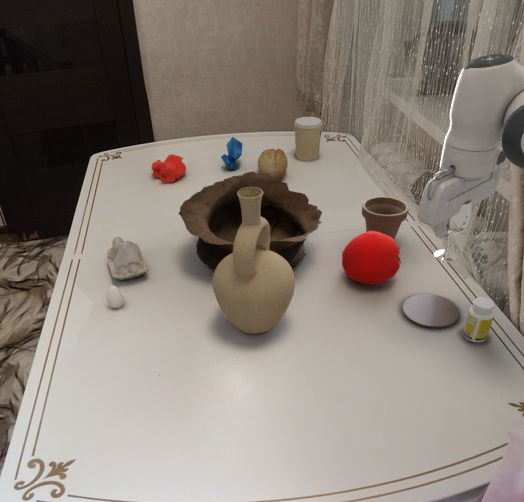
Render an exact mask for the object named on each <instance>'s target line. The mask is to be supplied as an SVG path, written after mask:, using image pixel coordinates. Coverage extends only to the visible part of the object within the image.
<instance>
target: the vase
mask: <svg viewBox="0 0 524 502" xmlns="http://www.w3.org/2000/svg"><path fill="white" fill-rule="evenodd" d="M237 195H238V197H239V200H240V205H241V211H242V224H241V225H240V227H239V229H238V231H237V234H236V237H235V241H234V246H233V253H231V254H229V255H228V256H227V257H225V258H224V259H223V260H222V261H221V262H220V263H219V265H218V266H217V268H216V270H214V273H213V277H212V289H213V294H214V296H215V297H214V298H215V300H216V302H217V304H218V306H219V308H220V310H221V311H222V313H223V314H224V316H225V318H226V319H227V320H228V321H229V322H230V324H231V325H232V326H233V327H235V328H236V329H237V330H239V331H241V332H243V333H245V334H250V335H252V334H253V335H259V334H263V333H266V332H268V331H270V330H272V329H274V327H276V326H277V324H278V323H279V322H280V321H281V320H282V318H283V317H284V315H285V314H286V312H287V310H288V308H289V307H290V304H291V301H292V299H293V296H294V293H295V289H296V278H295V277H296V276H295V274H294V270H293V268H292V267H291V266H290V265H289V263H288V262H287V261H286V260H285V259H284V258H283V257H282V256H280V255H279V254H277V253H275V252H272V251H270V250H269V246H270V226H269V223H268V222H267V220H266V219H265V218H263V217H261V216H260V210H261V199H262V196H263V191H262V190H261V189H260V188H257V187H245V188H242V189H240V190H239V191H238V192H237Z"/></svg>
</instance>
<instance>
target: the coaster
mask: <svg viewBox="0 0 524 502" xmlns="http://www.w3.org/2000/svg"><path fill="white" fill-rule="evenodd" d="M401 310H402V314H403V315H404V317H405V318H406V319H407V321H410V322H411V323H412V324H415V325H417V326H419V327H422V328H426V329H435V330H436V329H437V330H439V329H446V328H449V327H451V326H454V325H455V324H456V322H458V320H459V317H460V310H459V307H458V306H457V305H456V304H455V303H454V302H453V301H451V300H449V299H448V298H446V297H443V296H440V295H437V294H432V293H420V294H419V293H418V294H414V295H412V296H409V297H408V298H407V299H405V300H404V302H403V303H402V307H401Z"/></svg>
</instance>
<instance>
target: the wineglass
mask: <svg viewBox="0 0 524 502" xmlns="http://www.w3.org/2000/svg"><path fill="white" fill-rule="evenodd" d="M471 212H472V202H470V203H468V204H463V205H462V207H461V210H460V212H459V213H458V214H456V215H454V216H453V217H451V218H449V220H448V222H447V223H446V227H447V228H449V231H448V235H447V236H446V238H447V241H446V246H445V249H437V250H436V251H435V252H434V253H433V257H434V259H436V260H438V261H440V262H444V263H451V262H455V261H456V260H457V259H458V255H457V254H456V252H454V251H452V250H449V248H450V244H451V240H452V238H453V237H454V233H459V232H461V231H463V230H465V229H467V227H468V225H469V223H470V221H471V218H472V214H471ZM472 213H473V212H472Z"/></svg>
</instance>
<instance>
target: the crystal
mask: <svg viewBox="0 0 524 502" xmlns="http://www.w3.org/2000/svg"><path fill="white" fill-rule="evenodd" d="M225 145H226V150H227V154H226V153H224V154H222V155H221V156H220V158H221V160H222V161H223V163H224V164H225V165H226V166H227V169H228V170H229V171H235V170H236V169H237V161H238V160H239V159H240V158H241V156H242V154H243V142H241V141H240V140H238V139H237V138H235V137H234V136H232V137H230V140H228V141H227V143H226V144H225Z"/></svg>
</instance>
